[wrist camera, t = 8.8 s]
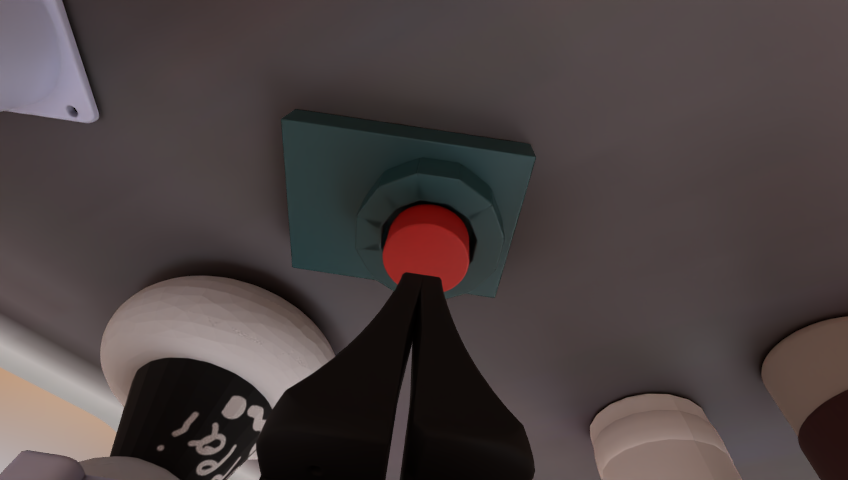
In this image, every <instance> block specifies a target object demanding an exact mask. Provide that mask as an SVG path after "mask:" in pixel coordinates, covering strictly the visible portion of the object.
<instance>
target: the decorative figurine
mask: <svg viewBox="0 0 848 480" xmlns="http://www.w3.org/2000/svg"><path fill="white" fill-rule="evenodd" d="M100 354H101V365H102V370H103V372H104V375H105V378H106V381H107V382H108V384H109V386H110V388H111V390H112V392H113V394H114V395H115V397H116V398H117V399H118V400H119V402H120V403H121V404H122V405H123V406H124V410H123V414H122V417H121V420H120V424H119V427H118V431H117V434H116V437H115V441H114V444H113V448H112V451H111V455H110V457H102V458H93V459H89V460H85V461H81V462H78V463H80V464H81V466H82V467H83V470H84V472H85V475H91V476H98V477H105V478H111V479H118V480H227V479H228V478H229V477H230V476H231V475H232V474H233V473H234V472H235V471H236V470H237V469H238V468H239V467H240V466H241V465H242V464H243V463H244V462H245V461H246V460H247V459H258V457H257V452H256V441H257V439H258V437H259V435H260V433H261V430H262V428H263V426H264V424H265V422H266V420H267V418H268V416H269V414H270V413H271V411H272V409H273V408H274V406H275V405H276V403H277V402H278V400H279V399H280V397H281V396H282V395H283V393H284V392H285V391H286V390H287V389H288V388H290V387H292V386H293V385H295V384H296V383H298V382H300V381H301V380H303V379H304V378H306V377H308V376H309V375H311V374H312V373H314V372H315V371H317V370H318V369H319V368H321V367H322V366H323V365H325V364H326V363H327V362H329V361H330V360H331V359H333V358H334V357H335V354H334V352H333V350H332V348H331V346H330V344H329V342H328V341H327V339H326V338H325V336H324V334H323V333H322V332H321V331H320V329H319V328H318V327H317V326H316V325H315V324H314V323H313V321H312V320H311V319H309V318H308V317H307V316H306V315H305V314H304V313H303V312H301V311H300V310H299V309H298V308H297V307H295V306H294V305H292V304H291V303H289V302H288V301H286V300H284V299H283V298H281V297H279V296H277V295H275V294H273V293H271V292H269V291H267V290H265V289H263V288H260V287H258V286H255V285H252V284H249V283H246V282H242V281H239V280H235V279H230V278H225V277H216V276H185V277H178V278H173V279H169V280H165V281H162V282H158V283H156V284H153V285H151V286H149V287H146V288H144V289H142V290H141V291H139V292H138V293H136V294H135V295H133V296H132V297H131V298H129V299H128V300H127V301H125V302H124V303H123V304H122V305H121V306H120V307H119V308H118V309H117V311H116V312H115V314H114V315H113V317H112V318H111V319H110V321H109V322H108V324H107V327H106V329H105V332H104V334H103V337H102V343H101V350H100Z"/></svg>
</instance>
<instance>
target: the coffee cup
mask: <svg viewBox="0 0 848 480" xmlns="http://www.w3.org/2000/svg"><path fill="white" fill-rule="evenodd" d="M761 376H762V380H763V383H764V385H765V387H766V389H767V390H768V392H769V393H770V395H771V396H772V398H773V399H774V401H775V402H776V404H777V406H778V407H779V409H780V410H781V412H782V413H783V415H784V416H785V418H786V419H787V421H788V422H789V424H790V425H791V427H792V428H793V430H794V431H795V433H796V434H797V436H798V441H799V445H800V448H801V450H802V451H803V453H804V454H805V456H806V458H807V459H808V461H809V462H810V464H811V465H812V467H813V468H814V470H815V471H816V473H817V475H818V476H819V478H820V479H821V480H848V316H847V317H839V318H834V319H829V320H825V321H821V322H818V323H815V324H812V325H809V326H807V327H805V328H803V329H800V330H798V331H796V332H794V333H793V334H791V335H789V336H788V337H786V338H785V339H783V340H782V341H781V342H780V343H778V344H777V345H776V346H775V347H774V348H773V349H772V350H771V351H770V352H769V354H768V355H767V357H766V358H765V360H764V363H763V366H762V373H761Z"/></svg>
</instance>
